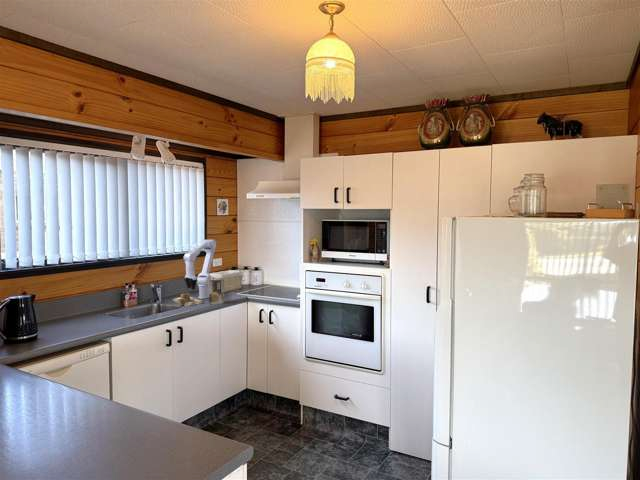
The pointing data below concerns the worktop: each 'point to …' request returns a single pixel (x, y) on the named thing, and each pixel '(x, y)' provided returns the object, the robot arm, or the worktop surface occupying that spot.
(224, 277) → the storage basket
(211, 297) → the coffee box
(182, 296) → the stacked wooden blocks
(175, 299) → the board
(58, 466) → the worktop surface
